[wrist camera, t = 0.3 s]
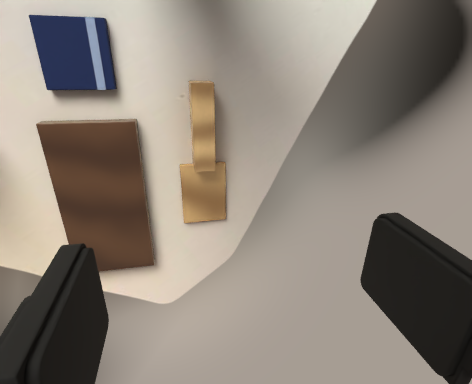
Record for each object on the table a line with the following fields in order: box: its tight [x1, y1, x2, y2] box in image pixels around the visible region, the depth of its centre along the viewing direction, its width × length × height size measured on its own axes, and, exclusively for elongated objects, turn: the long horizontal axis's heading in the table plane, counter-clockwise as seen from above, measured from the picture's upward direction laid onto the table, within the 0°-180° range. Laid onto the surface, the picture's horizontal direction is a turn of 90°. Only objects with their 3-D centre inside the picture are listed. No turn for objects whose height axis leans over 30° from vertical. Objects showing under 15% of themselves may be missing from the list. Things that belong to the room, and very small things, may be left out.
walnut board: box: [36, 119, 154, 272], centre depth 43 cm, size 24×12×2 cm, turn 179°
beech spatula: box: [180, 81, 226, 223], centre depth 43 cm, size 22×7×4 cm, turn 179°
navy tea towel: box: [29, 15, 117, 90], centre depth 35 cm, size 8×8×1 cm
